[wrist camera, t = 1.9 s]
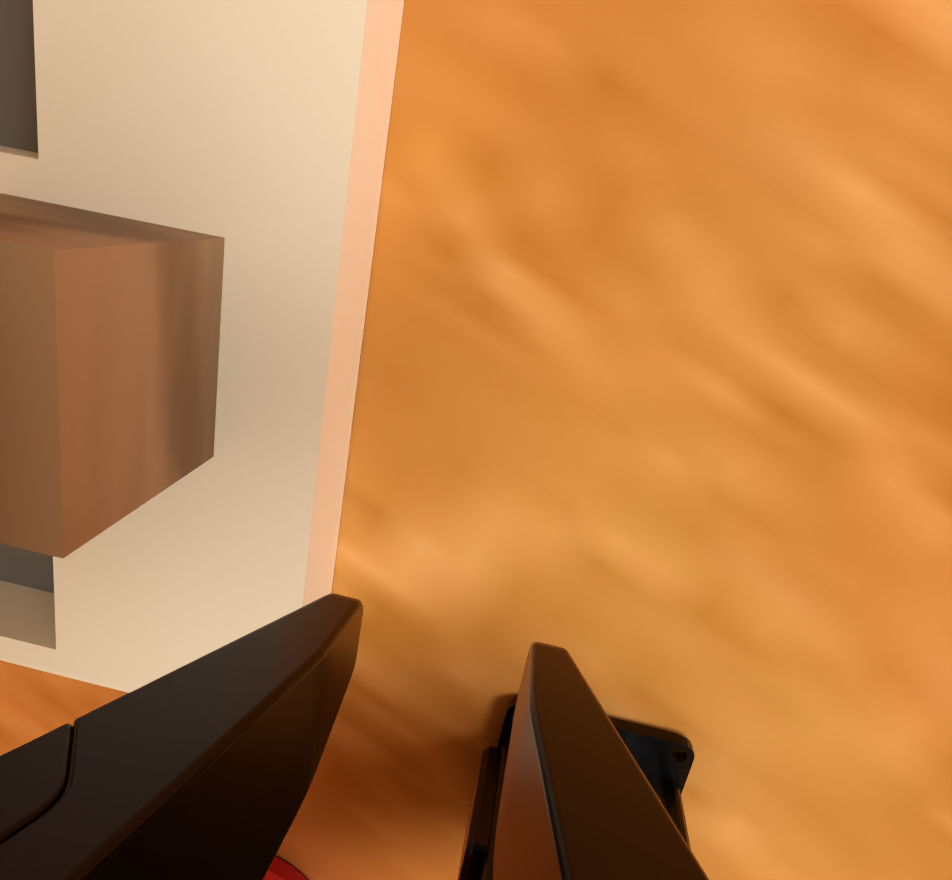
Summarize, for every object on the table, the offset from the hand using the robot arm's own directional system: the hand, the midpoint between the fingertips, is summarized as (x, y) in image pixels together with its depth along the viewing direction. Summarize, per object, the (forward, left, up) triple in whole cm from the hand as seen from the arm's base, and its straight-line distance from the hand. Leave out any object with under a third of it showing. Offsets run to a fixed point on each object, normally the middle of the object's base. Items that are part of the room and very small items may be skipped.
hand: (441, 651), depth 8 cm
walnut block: (+11, 0, -10) cm, 15 cm away
